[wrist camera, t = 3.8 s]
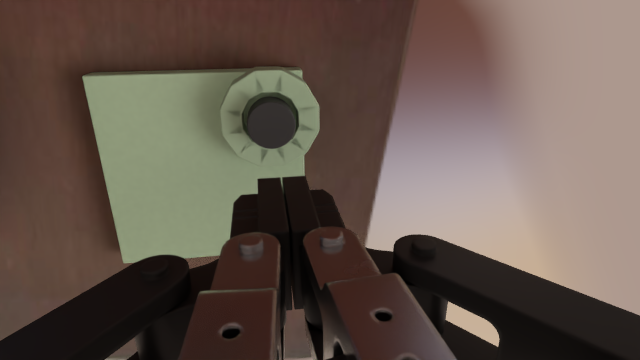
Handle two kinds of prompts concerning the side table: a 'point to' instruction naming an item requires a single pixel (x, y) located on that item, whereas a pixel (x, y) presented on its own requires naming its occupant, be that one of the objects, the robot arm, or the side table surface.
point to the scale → (189, 151)
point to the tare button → (270, 122)
